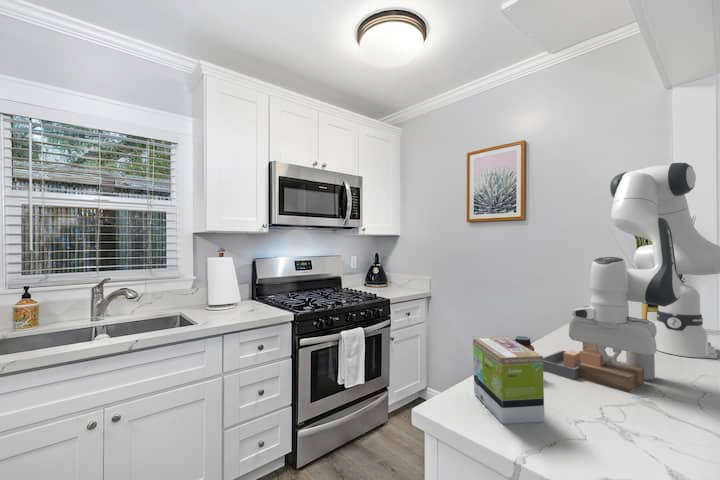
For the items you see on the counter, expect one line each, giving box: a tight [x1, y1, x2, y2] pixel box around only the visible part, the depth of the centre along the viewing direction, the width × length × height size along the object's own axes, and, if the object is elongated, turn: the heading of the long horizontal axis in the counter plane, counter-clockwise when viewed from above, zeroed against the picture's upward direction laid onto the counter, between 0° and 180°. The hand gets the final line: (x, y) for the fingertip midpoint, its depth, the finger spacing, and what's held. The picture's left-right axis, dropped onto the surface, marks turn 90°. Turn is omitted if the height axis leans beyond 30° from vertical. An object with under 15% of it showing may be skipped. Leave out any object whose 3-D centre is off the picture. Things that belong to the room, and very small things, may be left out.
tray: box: [543, 349, 582, 381], centre depth 104 cm, size 16×10×3 cm, turn 125°
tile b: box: [579, 349, 606, 367], centre depth 99 cm, size 5×5×3 cm
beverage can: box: [625, 351, 656, 382], centre depth 98 cm, size 6×6×12 cm
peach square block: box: [563, 349, 581, 368], centre depth 103 cm, size 5×5×3 cm
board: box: [578, 361, 645, 394], centre depth 95 cm, size 11×12×4 cm
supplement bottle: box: [514, 335, 535, 352], centre depth 99 cm, size 6×6×11 cm
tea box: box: [472, 336, 545, 425], centre depth 80 cm, size 15×10×15 cm
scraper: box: [578, 342, 599, 352], centre depth 114 cm, size 10×4×12 cm, turn 125°
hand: (609, 362), depth 95 cm, fingers closed
